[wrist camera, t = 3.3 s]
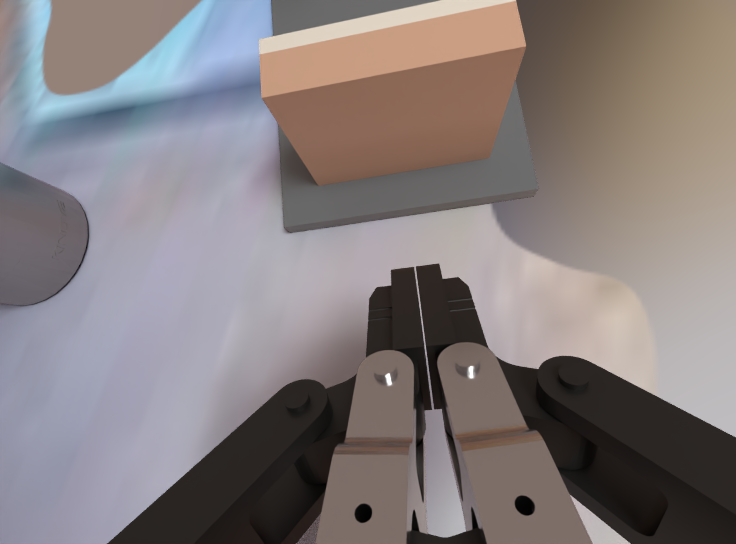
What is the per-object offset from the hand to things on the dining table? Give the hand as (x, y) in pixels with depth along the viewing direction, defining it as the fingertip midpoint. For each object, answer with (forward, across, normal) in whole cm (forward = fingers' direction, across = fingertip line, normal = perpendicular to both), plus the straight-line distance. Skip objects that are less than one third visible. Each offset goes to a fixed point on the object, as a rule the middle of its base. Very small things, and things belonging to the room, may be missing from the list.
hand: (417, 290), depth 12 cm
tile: (+15, 0, 0) cm, 15 cm away
